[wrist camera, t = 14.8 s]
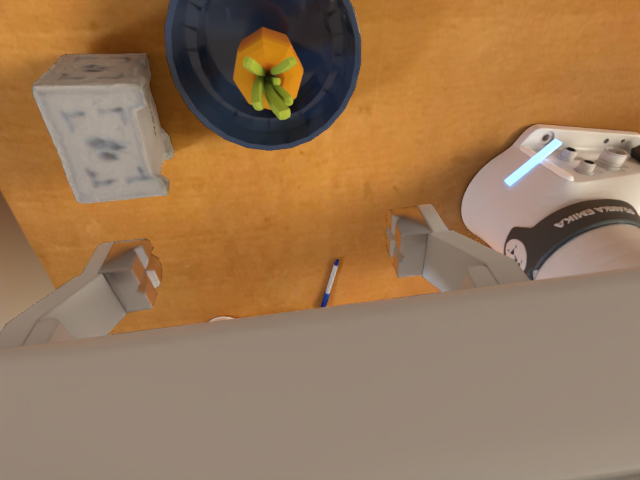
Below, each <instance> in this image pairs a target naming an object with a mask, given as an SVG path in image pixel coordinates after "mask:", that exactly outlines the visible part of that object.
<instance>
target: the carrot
mask: <svg viewBox="0 0 640 480" xmlns="http://www.w3.org/2000/svg"><path fill="white" fill-rule="evenodd" d="M303 71H304V69H303V67H302V64H301V62H300V60H299V58H298V56H297V54H296V52H295V50H294V49H293V47H292V45H291V43H290V41H289V39H288V37H287V35H286V34H283V33H280V32H277V31H274V30H271V29H268V28H265V27H261V28H260V29H258V30H257V31H255V32H254V33H252V34H250V35H249V36H247V37H246V38H244V39H243V40H242V41H241V43H240V45H239V47H238V50H237V56H236V62H235V68H234V74H233V80H234V82H235V83H236V85H237V86H238V88H239V89H240V91H241V93H242V94H243V96H244V97H245V99H246V100H247V102H248V103H249V104H251V105H253V107H254V109H255V110H258V111H260V110H263V108H266V109H269V110H272V111H273V113H274V114H275V115H276V116H277V117H278V118H279V120H285V119H287V118H289V117H290V115H291V112H290V109H289V107H288V106H291V105H292V104H293V100H294V99H295V98H296V97H297V94H298V90H299V86H300V82H301V79H302V75H303Z"/></svg>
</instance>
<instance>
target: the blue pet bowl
mask: <svg viewBox="0 0 640 480" xmlns="http://www.w3.org/2000/svg"><path fill="white" fill-rule="evenodd" d="M261 27H265V28H268V29H271V30H274V31H277V32H280V33H283V34H286V35H287V37H288V39H289V41H290V43H291V45H292V47H293V49H294V50H295V52H296V54H297V56H298V58H299V60H300V62H301V64H302V67H303V69H304V71H303V75H302V79H301V82H300V86H299V90H298V94H297V97H296V98H295V99H294V100H293V104H292V105H291V106H288V107H289V109H290V112H291V115H290V117H289V118H287V119H285V120H279V118H278V117H277V116H276V115H275V114H274V113H273V111H272V110H269V109H266V108H263V110H260V111H258V110H255V109H254V107H253V105H251V104H249V103H248V102H247V100H246V99H245V97H244V96H243V94H242V93H241V91H240V89H239V88H238V86H237V85H236V83H235V82H234V80H233V74H234V68H235V62H236V56H237V50H238V47H239V45H240V43H241V41H242V40H243V39H244V38H246V37H247V36H249V35H250V34H252V33H254V32H255V31H257V30H258V29H260V28H261ZM164 31H165V48H166V57H167V58H166V59H167V62H168V65H169V68H170V72H171V75H172V78H173V81H174V84H175V86H176V88H177V90H178V91H179V93H180V95H181V96H182V98H183V100H184V102H185V103H186V105H187V107H189V109H190V110H191V111H192V112H193V114H194V115H195V116H196V117H197V118H198V119H199V120H200V121H201V122H202V123H203V124H204V125H205V126H206V127H207V128H209V129H210V130H212V131H213V132H215V133H216V134H218V135H219V136H221V137H222V138H224V139H225V140H227V141H230V142H233V143H235V144H238V145H241V146H243V147H246V148H252V149H260V150H268V151H269V150H270V151H271V150H280V149H288V148H293V147H295V146H298V145H300V144H303V143H306V142H308V141H311V140H312V139H314V138H315V137H317V136H318V135H320V134H321V133H322V132H324V131H325V130H327V129H328V128H329V127H330V126H331V125H332V124H333V123H334V122H335V120H336V119H337V118H338V117H339V116H340V115H341V113H342V112H343V111H344V110H345V108H346V106H347V104H348V102H349V100H350V98H351V96H352V94H353V92H354V90H355V87H356V83H357V79H358V74H359V70H360V66H361V35H360V31H359V27H358V22H357V18H356V14H355V10H354V7H353V5H352V4H351V2H350V0H170V3H169V8H168V13H167V18H166V22H165V29H164Z"/></svg>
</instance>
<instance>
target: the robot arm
mask: <svg viewBox="0 0 640 480" xmlns="http://www.w3.org/2000/svg"><path fill="white" fill-rule="evenodd" d="M544 135H545V137H544V138H543V136H544ZM461 214H462V219H463V222H464V224H465V226H466V227H467V228H468V229H469V230H470V231H471V232H472V233H474V234H475V235H477V236H478V237H480V238H481V239H482V240H484V241H485V242H486V243H487V244H488V245H490V247H491V248H492V249H491V248H489V247H487V246H485V245H483V244H481V243H479V242H476V241H474V240H472V239H470V238H468V237H466V236H464V235H462V234H460V233H458V232H456V231H454V230H450V231H449V230H448V229H447V227H446V226H445V224H444V222H443V221H442V219H441V218H440V216H439V215H438V213H437V211H436V210H435V208H434V207H433V205H432V204H424V205H418V206H413V207H406V208H398V209H391V210H387V214H386V221H387V223H388V226H389V227H388V228H387V229H386V235H385V238H386V247H387V251H388V253H389V256H390V257H392V258H393V267H394V269H395V272H396V274H397V277H398V278H400V277H410V276H420V275H422V277H424V278H425V279H426V280H428V281H429V282H430V283H431V284H433V285H434V286H435V287H437V288H438V289H439V290H440V291H442V292H438V293H430V294H423V295H415V296H407V297H399V298H391V299H384V300H376V301H368V302H360V303H353V304H345V305H337V306H329V307H322V308H314V309H306V310H298V311H290V312H283V313H275V314H267V315H259V316H251V317H244V318H236V319H228V320H220V321H212V322H205V323H197V324H189V325H181V326H173V327H166V328H158V329H150V330H142V331H134V332H127V333H119V334H111V335H107V334H108V333H109V332H110V331H111V330H112V329H113V328H114V327H115V326H116V325H117V324H118V323H119V322H120V320H121V319H122V318H123V317H124V316H125V315H126V314H127V313H128V312H134V311H141V310H147V309H152V308H153V305H154V302H155V299H156V296H157V293H156V291H155V288H157V287H158V286H159V285H160V284H161V280H162V267H161V263H160V261H159V258H158V257H156V256H155V255H153V254H152V251H153V246H152V244H151V242H150V240H148V239H135V240H125V241H117V242H107V243H101V244H99V245H98V246H97V248H96V250H95V251H94V253H93V255H92V257H91V258H90V260H89V262H88V263H87V265H86V267H85V269H84V270H83V272H82V274H81V276H75V277H74V278H72V279H71V280H70V281H68V282H67V283H65V284H64V285H62V286H61V287H59V288H58V289H56V290H55V291H54V292H52V293H51V294H49V295H47V296H46V297H45V298H43V299H42V300H40V301H39V302H37V303H36V304H34V305H33V306H31V307H30V308H28V309H27V310H25V311H24V312H22V313H21V314H20V315H18V316H17V317H15V318H14V319H12V320H11V321H9V322H8V323H7V324H6V325H5V326H4V328H3V329H2V331H1V332H0V480H640V134H639V133H637V132H631V131H619V130H607V129H594V128H582V127H570V126H557V125H545V124H535V125H532V126H530V127H529V128H528V129H526V130H525V131H524V132H523V133H522V135H521V136H520V137H519V138H518V139H517V140H516V141H515V143H514V144H513V145H512V146H511V147H510V148H508V149H507V150H506V151H504V152H503V153H501V154H499V155H498V156H496V157H495V158H494V159H492V160H491V161H490V162H488V163H487V164H486V165H485V166H484V167H483V168H482V169H481V170H480V171H479V172H478V173H477V174H476V176H475V177H474V178H473V179H472V181H471V182H470V184H469V186H468V188H467V190H466V192H465V194H464V197H463V200H462V206H461Z"/></svg>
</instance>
